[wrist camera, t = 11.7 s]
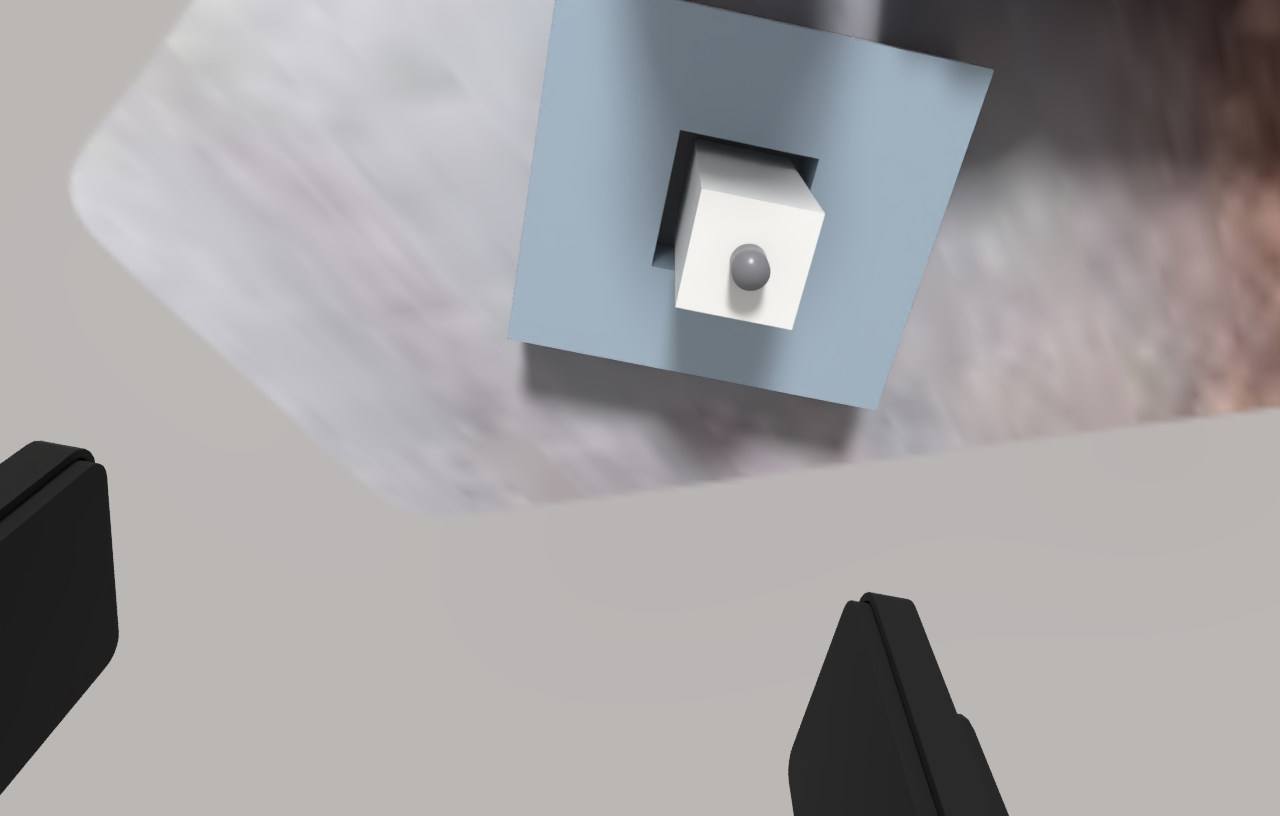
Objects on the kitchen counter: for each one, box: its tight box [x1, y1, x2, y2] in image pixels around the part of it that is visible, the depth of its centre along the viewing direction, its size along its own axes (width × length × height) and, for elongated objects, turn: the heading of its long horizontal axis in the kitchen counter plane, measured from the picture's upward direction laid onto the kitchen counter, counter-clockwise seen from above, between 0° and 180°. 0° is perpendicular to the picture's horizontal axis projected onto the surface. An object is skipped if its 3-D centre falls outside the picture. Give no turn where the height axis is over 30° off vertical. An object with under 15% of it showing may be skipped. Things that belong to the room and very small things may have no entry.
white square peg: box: [674, 138, 825, 330], centre depth 33 cm, size 4×4×11 cm
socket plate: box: [507, 0, 994, 411], centre depth 37 cm, size 16×14×4 cm
